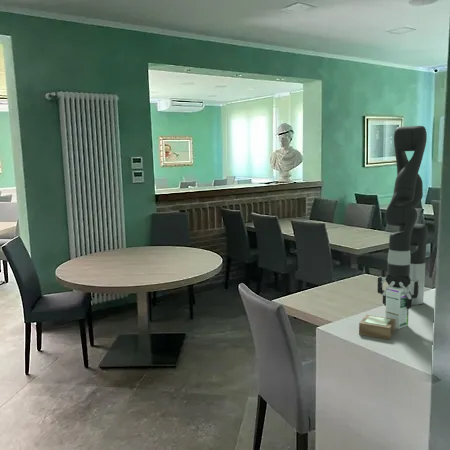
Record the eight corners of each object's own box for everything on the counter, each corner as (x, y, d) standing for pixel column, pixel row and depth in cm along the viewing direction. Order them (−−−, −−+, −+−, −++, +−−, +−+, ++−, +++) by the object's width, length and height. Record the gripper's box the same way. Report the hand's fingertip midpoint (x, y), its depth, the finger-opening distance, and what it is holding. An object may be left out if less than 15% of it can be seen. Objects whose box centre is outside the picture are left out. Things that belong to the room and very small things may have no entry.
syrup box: (398, 329, 164) (400, 289, 162) (384, 324, 169) (386, 285, 167) (408, 326, 167) (410, 286, 165) (393, 321, 172) (395, 283, 170)
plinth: (366, 325, 168) (366, 314, 168) (395, 330, 163) (395, 318, 163) (358, 334, 160) (359, 322, 159) (389, 339, 155) (389, 327, 154)
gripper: (422, 262, 164) (419, 307, 167) (380, 258, 172) (378, 301, 174) (418, 266, 158) (416, 313, 160) (375, 261, 165) (374, 306, 168)
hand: (396, 306), depth 167 cm, fingers closed on syrup box, 7 cm apart
